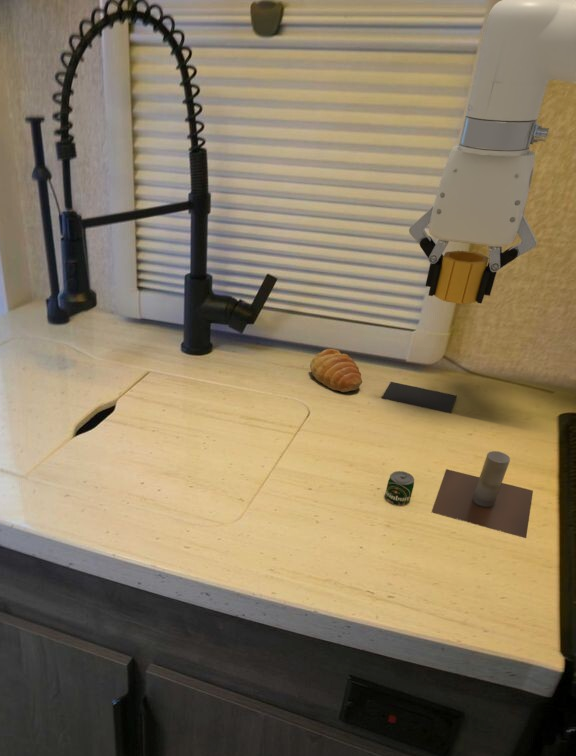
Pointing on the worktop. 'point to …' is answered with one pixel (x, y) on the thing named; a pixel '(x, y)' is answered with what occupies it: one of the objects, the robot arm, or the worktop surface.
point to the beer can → (399, 488)
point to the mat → (420, 397)
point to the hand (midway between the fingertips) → (456, 294)
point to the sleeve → (460, 276)
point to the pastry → (336, 370)
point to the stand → (485, 498)
